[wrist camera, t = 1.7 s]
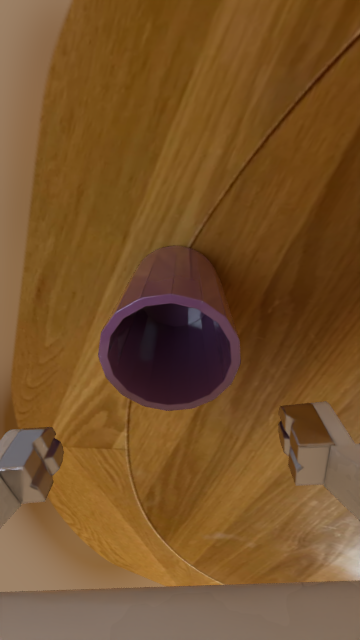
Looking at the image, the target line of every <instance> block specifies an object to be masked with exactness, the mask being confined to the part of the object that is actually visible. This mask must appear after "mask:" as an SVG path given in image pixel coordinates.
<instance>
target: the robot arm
mask: <svg viewBox="0 0 360 640" xmlns="http://www.w3.org/2000/svg"><path fill="white" fill-rule="evenodd" d="M279 416H280V419H281V421H280V422H279V423H278V431H279V438H280V442H281V445H282V448H283V451H284V453H285V454H286V455H288V456H289V463H288V465H289V468H290V471H291V474H292V476H293V479H294V482H295V485H324V486H325V487H326V488H327V489H328V490H329V491H330V492H331V493H332V494H333V495H334V496H335V497H336V498H337V499H338V500H339V501H340V502H341V503H342V504H343V505H344V506H345V507H346V508H347V509H348V510H349V511H350V512H351V513H352V514H353V515H354V516H355V517H356V518H357V519H358V520H359V521H360V444H355V443H354V441H353V440H352V438H351V436H350V435H349V433H348V432H347V430H346V429H345V427H344V426H343V424H342V423H341V421H340V419H339V418H338V416H337V415H336V413H335V412H334V410H333V409H332V407H331V406H330V404H329V403H328V402H316V403H304V404H294V405H285V406H280V407H279ZM55 435H56V433H55V431H54V429H53V428H52V427H42V428H26V429H14V430H10V431H8V432H7V433H5V435H4V436H3V438H2V439H1V440H0V528H1V527H2V526H3V524H5V523H6V521H7V520H8V519H9V518H10V517H11V516H12V515H13V514H14V513H15V512H16V510H17V509H18V508H19V507H20V506H21V504H22V503H23V504H24V503H34V502H44V501H45V500H46V498H47V496H48V493H49V491H50V489H51V487H52V484H53V482H54V481H53V475H54V474H55V473H56V472H57V471H58V470H59V468H60V466H61V464H62V461H63V454H64V451H63V446H62V444H61V442H60V441H58V440H57V439H55V438H54V437H55ZM0 640H360V581H329V582H298V583H267V584H236V585H205V586H174V587H144V588H112V589H81V590H51V591H20V592H0Z"/></svg>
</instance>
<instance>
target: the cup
mask: <svg viewBox="0 0 360 640" xmlns="http://www.w3.org/2000/svg"><path fill="white" fill-rule="evenodd" d="M98 356H99V360H100V362H101V365H102V368H103V371H104V373H105V376H106V378H107V379H108V380H109V381H110V382H111V384H112V385H113V386H114V387H115V388H116V389H117V390H118V391H119V392H120V393H121V394H122V395H123V396H125V397H127V398H129V399H131V400H133V401H135V402H137V403H138V404H140V405H142V406H145V407H150V408H155V409H161V410H166V411H167V410H168V411H172V410H183V409H192V408H195V407H197V406H200V405H202V404H205V403H207V402H209V401H212V400H214V399H215V398H217V397H218V396H219V395H220V394H221V393H222V392H223V391H224V390H225V389H226V388H228V387H229V386H230V385H231V383H232V382H233V379H234V377H235V375H236V373H237V370H238V368H239V366H240V363H241V356H240V340H239V337H238V334H237V331H236V328H235V325H234V321H233V318H232V315H231V312H230V309H229V306H228V303H227V300H226V297H225V294H224V291H223V288H222V285H221V282H220V278H219V276H218V275H217V272H216V270H215V268H214V267H213V265H212V263H211V262H210V261H209V260H208V259H207V258H206V257H205V256H204V255H202V254H201V253H199V252H198V251H196V250H193V249H191V248H188V247H183V246H168V247H163V248H160V249H157V250H155V251H153V252H152V253H150V254H149V255H147V256H146V257H145V258H144V259H143V260H142V261H141V263H140V264H139V265H138V267H137V269H136V270H135V272H134V273H133V275H132V277H131V279H130V280H129V282H128V284H127V286H126V288H125V290H124V291H123V293H122V295H121V297H120V299H119V301H118V303H117V304H116V306H115V308H114V310H113V312H112V314H111V315H110V317H109V319H108V321H107V323H106V325H105V326H104V328H103V330H102V332H101V337H100V345H99V353H98Z"/></svg>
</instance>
